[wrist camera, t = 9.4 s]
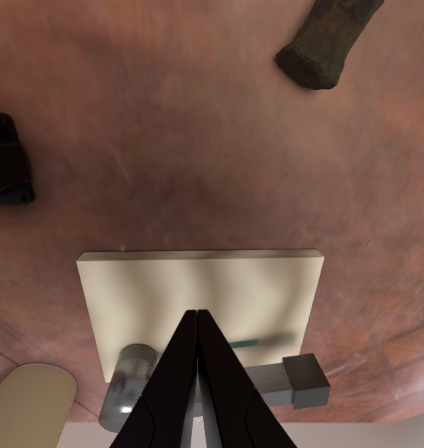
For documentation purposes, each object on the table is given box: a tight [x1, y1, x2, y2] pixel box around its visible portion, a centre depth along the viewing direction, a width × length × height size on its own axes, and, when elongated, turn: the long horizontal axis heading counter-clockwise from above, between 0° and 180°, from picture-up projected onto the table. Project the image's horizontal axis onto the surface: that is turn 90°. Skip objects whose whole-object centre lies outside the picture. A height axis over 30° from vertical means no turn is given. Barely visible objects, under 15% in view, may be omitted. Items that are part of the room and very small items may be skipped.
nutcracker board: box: [76, 249, 324, 383], centre depth 22 cm, size 22×16×4 cm
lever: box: [98, 345, 331, 433], centre depth 21 cm, size 20×4×6 cm, turn 95°
